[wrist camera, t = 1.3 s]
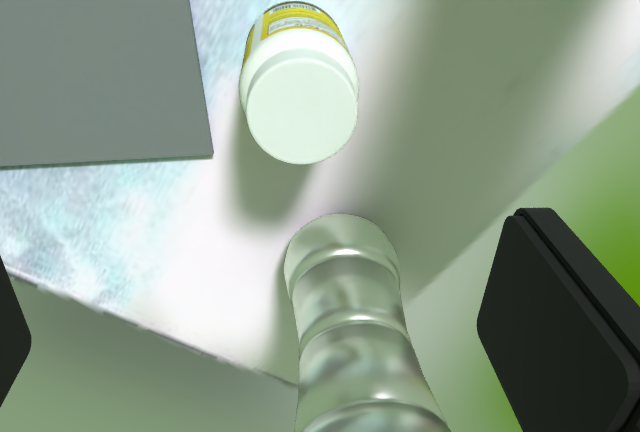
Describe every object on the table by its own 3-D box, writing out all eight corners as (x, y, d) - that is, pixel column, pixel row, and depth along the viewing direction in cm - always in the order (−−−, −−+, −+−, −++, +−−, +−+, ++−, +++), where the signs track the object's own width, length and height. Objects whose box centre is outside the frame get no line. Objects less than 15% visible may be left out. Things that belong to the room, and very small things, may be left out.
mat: (164, -156, 20) (162, -157, 19) (213, 151, 27) (212, 155, 27) (-190, -146, 19) (-199, -147, 19) (-40, 165, 27) (-44, 168, 26)
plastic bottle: (293, 191, 29) (311, 603, 12) (404, 208, 30) (554, 605, 14) (275, 275, 32) (270, 686, 16) (375, 287, 34) (467, 682, 17)
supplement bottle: (293, 114, 26) (297, 197, 19) (226, 48, 24) (204, 114, 17) (362, 51, 25) (395, 117, 18) (297, -25, 23) (305, 15, 16)
